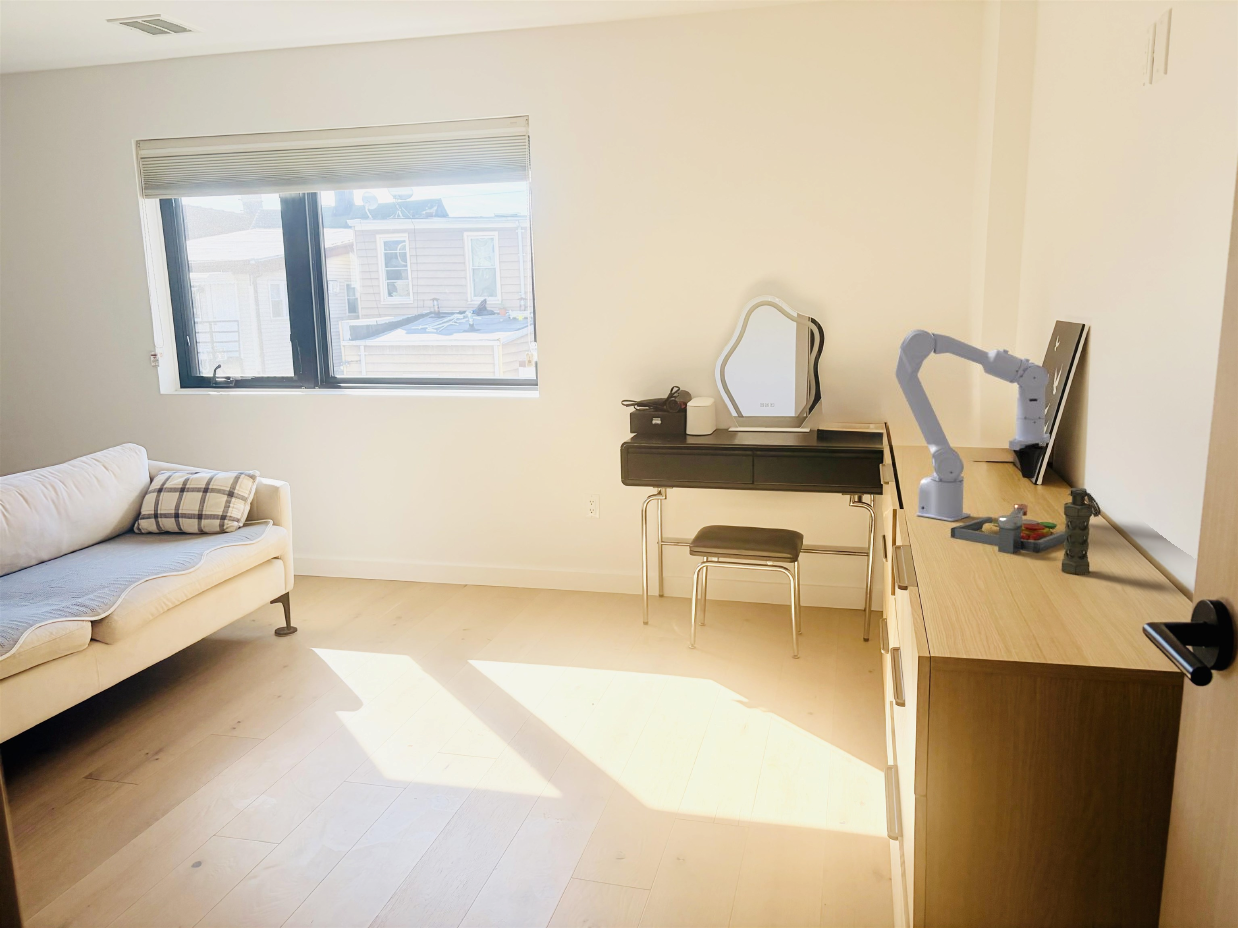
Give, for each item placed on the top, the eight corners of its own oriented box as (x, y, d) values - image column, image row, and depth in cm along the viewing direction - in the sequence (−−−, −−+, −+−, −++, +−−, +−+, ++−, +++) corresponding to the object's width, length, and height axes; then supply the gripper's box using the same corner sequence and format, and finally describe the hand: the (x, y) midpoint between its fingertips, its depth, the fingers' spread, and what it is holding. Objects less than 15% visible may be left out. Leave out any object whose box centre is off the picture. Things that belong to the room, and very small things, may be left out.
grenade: (1098, 578, 150) (1103, 494, 148) (1061, 575, 153) (1065, 492, 151) (1097, 565, 158) (1101, 485, 156) (1061, 562, 161) (1064, 483, 158)
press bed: (940, 540, 179) (941, 518, 179) (987, 525, 191) (988, 504, 190) (1028, 556, 165) (1028, 533, 164) (1073, 539, 176) (1074, 516, 175)
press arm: (1009, 512, 181) (1010, 503, 181) (1032, 514, 179) (1033, 504, 179) (996, 528, 168) (996, 519, 168) (1020, 531, 166) (1020, 521, 165)
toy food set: (975, 540, 180) (975, 525, 179) (1000, 528, 189) (1000, 513, 188) (1042, 550, 170) (1043, 534, 170) (1065, 536, 179) (1066, 521, 179)
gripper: (1032, 422, 184) (1029, 484, 186) (1064, 415, 193) (1061, 475, 195) (1000, 420, 189) (998, 480, 192) (1033, 414, 198) (1031, 471, 200)
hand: (1028, 477), depth 194 cm, fingers closed
